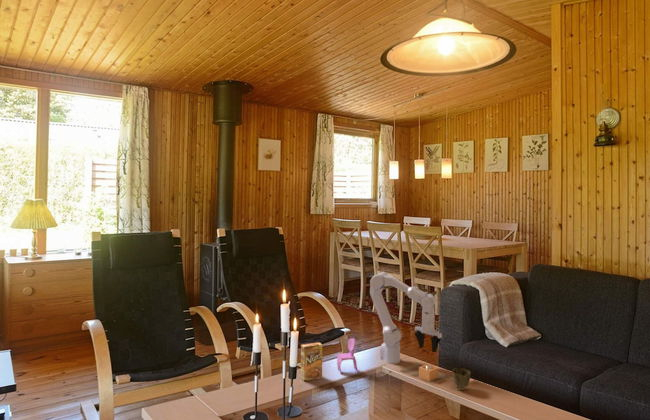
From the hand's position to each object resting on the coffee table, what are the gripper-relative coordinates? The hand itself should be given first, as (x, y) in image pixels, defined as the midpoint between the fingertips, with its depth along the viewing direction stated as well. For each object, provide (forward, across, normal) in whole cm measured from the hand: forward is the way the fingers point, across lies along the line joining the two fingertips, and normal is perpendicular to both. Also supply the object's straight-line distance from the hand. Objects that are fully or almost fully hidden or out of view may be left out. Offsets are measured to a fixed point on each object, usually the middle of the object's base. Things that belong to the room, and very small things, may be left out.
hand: (427, 349), depth 217 cm
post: (+9, +8, -10) cm, 16 cm away
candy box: (+10, -25, -49) cm, 56 cm away
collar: (+8, +8, -10) cm, 15 cm away
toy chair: (+10, -21, -31) cm, 39 cm away
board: (+9, +4, -7) cm, 12 cm away
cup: (+10, +23, -6) cm, 26 cm away
